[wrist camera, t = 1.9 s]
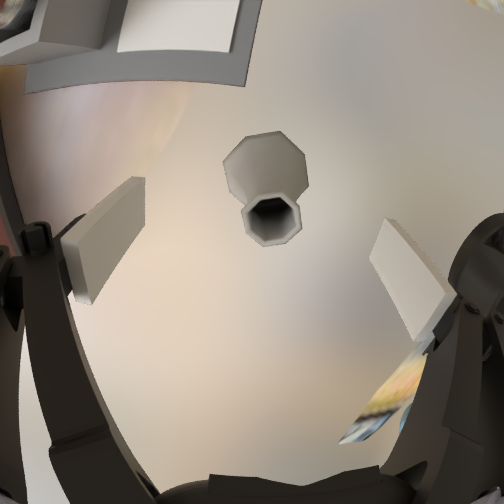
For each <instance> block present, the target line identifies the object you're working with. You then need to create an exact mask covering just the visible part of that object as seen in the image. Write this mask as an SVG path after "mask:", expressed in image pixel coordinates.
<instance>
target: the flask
mask: <svg viewBox="0 0 504 504" xmlns="http://www.w3.org/2000/svg"><path fill="white" fill-rule="evenodd" d="M223 165H224V169H225V174H226V178H227V182H228V187H229V190H230V193H231V194H232V195H233V196H235V197H236V198H237V199H238V200H239V201H241V202H242V203H243V204H244V205H245V207H244V208H243V209H242V210H241V213H242V218H243V222H244V227H245V231H246V234H248V235H249V236H250V237H251V238H252V239H254V240H255V241H256V242H257V243H259V244H260V245H261V246H262V247H267V246H273V245H280V244H286V243H287V242H288V241H289V240H290V239H291V238H292V237H294V236H295V235H296V234H297V233H298V232H299V231H300V230H301V229H302V222H301V214H300V207H299V205H298V204H297V203H296V200H297V199H298V198H299V197H300V195H301V194H302V193H303V192H304V191H305V190H306V189H307V188H308V186H309V183H308V175H307V168H306V161H305V154H304V153H303V152H302V151H301V150H300V149H299V148H298V147H297V146H296V145H295V144H293V143H292V142H291V141H290V140H289V139H288V138H287V137H286V136H285V135H284V134H283V133H282V132H281V131H277V132H270V133H264V134H258V135H253V136H247V137H245V138H244V139H243V140H242V141H241V142H240V143H239V144H238V145H237V146H236V147H235V149H233V151H232V152H231V153H230V154H229V155H228V156H227V157H226V158H225V159H224V160H223Z"/></svg>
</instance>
